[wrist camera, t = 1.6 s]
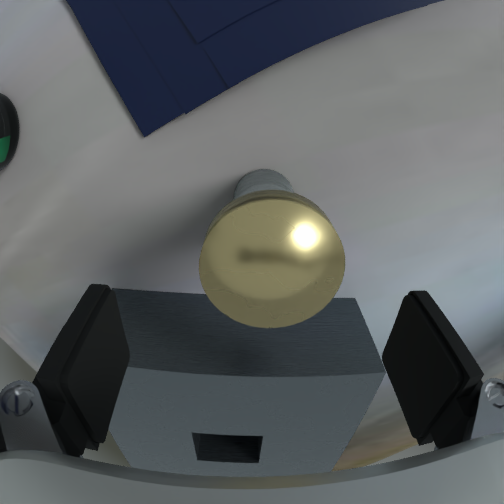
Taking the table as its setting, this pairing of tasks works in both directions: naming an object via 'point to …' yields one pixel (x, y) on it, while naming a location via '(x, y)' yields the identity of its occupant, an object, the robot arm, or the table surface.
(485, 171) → the table surface
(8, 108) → the supplement bottle
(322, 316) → the grey square platform
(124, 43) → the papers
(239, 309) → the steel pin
